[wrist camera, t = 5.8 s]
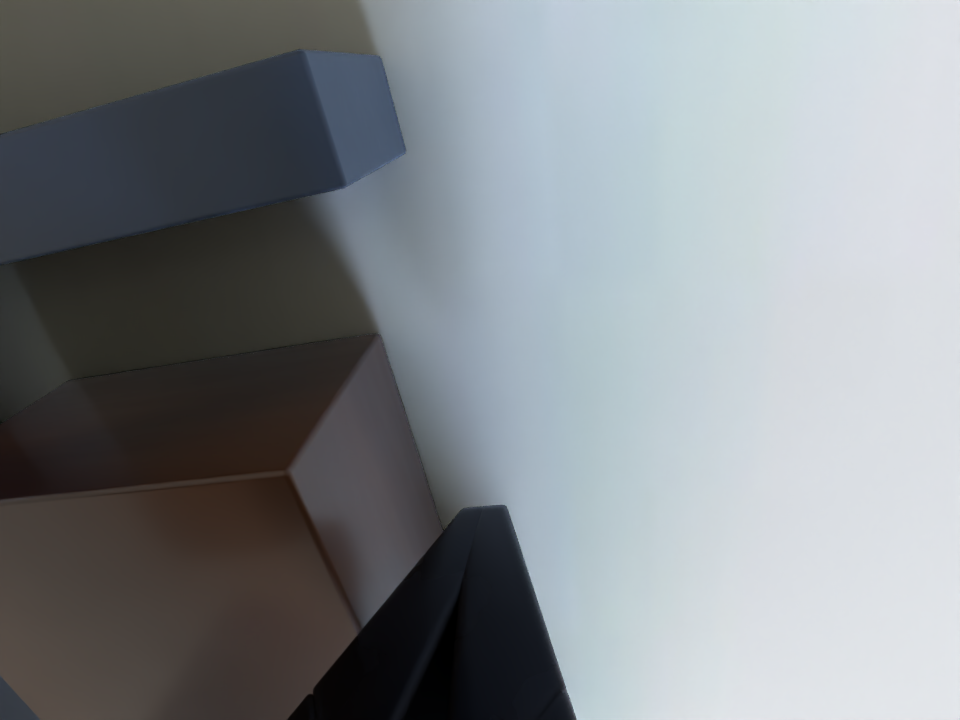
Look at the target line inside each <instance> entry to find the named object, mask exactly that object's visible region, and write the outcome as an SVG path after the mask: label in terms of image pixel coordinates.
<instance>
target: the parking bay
mask: <svg viewBox="0 0 960 720" xmlns="http://www.w3.org/2000/svg"><path fill="white" fill-rule="evenodd" d="M405 153H406V148H405V145H404V141H403V137H402V133H401V130H400V126H399V122H398V118H397V115H396V111H395V107H394V103H393V100H392V96H391V92H390V88H389V85H388V81H387V77H386V73H385V69H384V66H383V62H382V59H381V57H380V56H378V55H366V54H354V53H341V52H329V51H316V50H304V49H298V50H295V51H291V52H288V53H284V54H281V55H277V56H274V57H270V58H267V59H263V60H260V61H256V62H253V63H249V64H245V65H242V66H238V67H235V68H231V69H228V70H224V71H221V72H217V73H214V74H210V75H207V76H203V77H200V78H196V79H193V80H189V81H186V82H182V83H179V84H175V85H172V86H168V87H164V88H161V89H157V90H154V91H150V92H147V93H143V94H140V95H136V96H133V97H129V98H126V99H122V100H119V101H115V102H112V103H108V104H105V105H101V106H98V107H94V108H91V109H87V110H83V111H80V112H76V113H73V114H69V115H66V116H62V117H59V118H55V119H52V120H48V121H45V122H41V123H38V124H34V125H31V126H27V127H24V128H20V129H17V130H13V131H10V132H6V133H3V134H0V265H4V264H8V263H12V262H17V261H21V260H26V259H30V258H35V257H39V256H44V255H48V254H53V253H57V252H62V251H66V250H71V249H75V248H79V247H84V246H88V245H93V244H97V243H102V242H106V241H111V240H115V239H120V238H124V237H129V236H133V235H138V234H142V233H146V232H151V231H155V230H160V229H164V228H169V227H173V226H178V225H182V224H187V223H191V222H196V221H200V220H205V219H209V218H213V217H218V216H222V215H227V214H231V213H236V212H240V211H245V210H249V209H254V208H258V207H263V206H267V205H272V204H276V203H281V202H285V201H289V200H294V199H298V198H303V197H307V196H312V195H316V194H321V193H325V192H330V191H334V190H339V189H343V188H345V187H347V186H349V185H351V184H353V183H354V182H356V181H358V180H360V179H361V178H363V177H365V176H367V175H368V174H370V173H372V172H374V171H375V170H377V169H379V168H381V167H383V166H384V165H386V164H388V163H390V162H391V161H393V160H395V159H397V158H398V157H400V156H402V155H404V154H405ZM0 720H40V719H39V718H38V716H37V715H36V714H35V713H34V712H33V711H32V710H31V709H30V708H29V707H28V706H27V704H26V703H25V702H24V701H23V700H22V699H21V698H20V697H19V696H18V695H17V693H16V692H15V691H14V690H13V689H12V688H11V687H10V686H9V685H8V684H7V683H6V681H5V680H4V679H3V678H2V677H1V676H0Z"/></svg>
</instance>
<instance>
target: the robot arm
mask: <svg viewBox="0 0 960 720" xmlns="http://www.w3.org/2000/svg"><path fill="white" fill-rule="evenodd" d="M287 720H577V719H576V716H575V713H574V710H573V707H572V704H571V701H570V698H569V695H568V693H567V691H566V687H565V684H564V680H563V677H562V674H561V671H560V668H559V665H558V662H557V659H556V656H555V653H554V650H553V647H552V644H551V641H550V637H549V634H548V631H547V628H546V625H545V622H544V619H543V616H542V613H541V610H540V607H539V604H538V601H537V598H536V595H535V591H534V588H533V585H532V582H531V579H530V576H529V573H528V570H527V567H526V564H525V561H524V558H523V555H522V552H521V548H520V545H519V542H518V539H517V536H516V533H515V530H514V527H513V524H512V521H511V518H510V515H509V512H508V509H507V507H506V506H505V505H493V506H480V507H468V508H464V509H462V510H461V511H460V512H459V513H458V514H457V515H456V517H455V518H454V519H453V520H452V521H451V523H450V524H449V525H448V526H447V527H446V529H445V530H444V531H443V532H442V533H441V535H440V536H439V537H438V538H437V539H436V541H435V542H434V543H433V544H432V545H431V547H430V548H429V549H428V550H427V552H426V553H425V554H424V555H423V556H422V558H421V559H420V560H419V561H418V562H417V564H416V565H415V566H414V567H413V568H412V570H411V571H410V572H409V573H408V574H407V576H406V577H405V578H404V579H403V580H402V582H401V583H400V584H399V585H398V586H397V588H396V589H395V590H394V591H393V592H392V594H391V595H390V596H389V597H388V599H387V600H386V601H385V602H384V603H383V605H382V606H381V607H380V608H379V609H378V611H377V612H376V613H375V614H374V615H373V617H372V618H371V619H370V620H369V621H368V623H367V624H366V625H365V626H364V627H363V629H362V630H361V631H360V632H359V633H358V635H357V636H356V637H355V638H354V639H353V641H352V642H351V643H350V644H349V646H348V647H347V648H346V649H345V650H344V652H343V653H342V654H341V655H340V656H339V658H338V659H337V660H336V661H335V662H334V664H333V665H332V666H331V667H330V668H329V670H328V671H327V672H326V673H325V674H324V676H323V677H322V678H321V679H320V680H319V682H318V683H317V684H316V685H315V686H314V688H313V694H308V695H307V696H306V697H305V698H304V699H303V701H302V702H301V703H300V704H299V705H298V707H297V708H296V709H295V710H294V711H293V713H292V714H291V715H290V716H289V717H288V719H287Z"/></svg>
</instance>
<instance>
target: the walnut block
mask: <svg viewBox="0 0 960 720" xmlns="http://www.w3.org/2000/svg"><path fill="white" fill-rule="evenodd" d="M442 532H443V529H442V526H441V523H440V520H439V517H438V514H437V511H436V507H435V504H434V501H433V498H432V495H431V492H430V489H429V486H428V482H427V479H426V476H425V473H424V470H423V467H422V464H421V461H420V457H419V454H418V451H417V448H416V445H415V442H414V439H413V435H412V432H411V429H410V426H409V423H408V420H407V417H406V414H405V410H404V407H403V404H402V401H401V398H400V395H399V392H398V389H397V385H396V382H395V379H394V376H393V373H392V370H391V367H390V364H389V360H388V357H387V354H386V351H385V348H384V345H383V342H382V338H381V336H380V334H378V333H375V334H368V335H362V336H355V337H349V338H342V339H336V340H329V341H323V342H316V343H310V344H303V345H297V346H290V347H284V348H277V349H271V350H264V351H258V352H252V353H245V354H239V355H232V356H226V357H219V358H213V359H206V360H200V361H193V362H187V363H180V364H174V365H167V366H161V367H154V368H148V369H141V370H135V371H128V372H122V373H115V374H109V375H102V376H96V377H89V378H83V379H76V380H70V381H67V382H66V383H64V384H62V385H61V386H59V387H58V388H56V389H55V390H53V391H52V392H50V393H48V394H47V395H45V396H44V397H42V398H41V399H39V400H37V401H36V402H34V403H33V404H31V405H30V406H28V407H27V408H25V409H23V410H22V411H20V412H19V413H17V414H16V415H14V416H12V417H11V418H9V419H8V420H6V421H5V422H3V423H2V424H0V676H1V677H2V678H3V679H4V680H5V681H6V683H7V684H8V685H9V686H10V687H11V688H12V689H13V690H14V691H15V692H16V693H17V695H18V696H19V697H20V698H21V699H22V700H23V701H24V702H25V703H26V704H27V706H28V707H29V708H30V709H31V710H32V711H33V712H34V713H35V714H36V715H37V716H38V718H39V719H40V720H287V719H288V717H289V716H290V715H291V714H292V713H293V711H294V710H295V709H296V708H297V707H298V705H299V704H300V703H301V702H302V701H303V699H304V698H305V697H306V696H307V695H308V694H313V688H314V686H315V685H316V684H317V683H318V682H319V680H320V679H321V678H322V677H323V676H324V674H325V673H326V672H327V671H328V670H329V668H330V667H331V666H332V665H333V664H334V662H335V661H336V660H337V659H338V658H339V656H340V655H341V654H342V653H343V652H344V650H345V649H346V648H347V647H348V646H349V644H350V643H351V642H352V641H353V639H354V638H355V637H356V636H357V635H358V633H359V632H360V631H361V630H362V629H363V627H364V626H365V625H366V624H367V623H368V621H369V620H370V619H371V618H372V617H373V615H374V614H375V613H376V612H377V611H378V609H379V608H380V607H381V606H382V605H383V603H384V602H385V601H386V600H387V599H388V597H389V596H390V595H391V594H392V592H393V591H394V590H395V589H396V588H397V586H398V585H399V584H400V583H401V582H402V580H403V579H404V578H405V577H406V576H407V574H408V573H409V572H410V571H411V570H412V568H413V567H414V566H415V565H416V564H417V562H418V561H419V560H420V559H421V558H422V556H423V555H424V554H425V553H426V552H427V550H428V549H429V548H430V547H431V545H432V544H433V543H434V542H435V541H436V539H437V538H438V537H439V536H440V535H441V533H442Z"/></svg>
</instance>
